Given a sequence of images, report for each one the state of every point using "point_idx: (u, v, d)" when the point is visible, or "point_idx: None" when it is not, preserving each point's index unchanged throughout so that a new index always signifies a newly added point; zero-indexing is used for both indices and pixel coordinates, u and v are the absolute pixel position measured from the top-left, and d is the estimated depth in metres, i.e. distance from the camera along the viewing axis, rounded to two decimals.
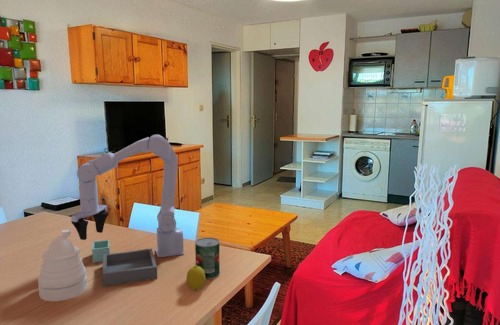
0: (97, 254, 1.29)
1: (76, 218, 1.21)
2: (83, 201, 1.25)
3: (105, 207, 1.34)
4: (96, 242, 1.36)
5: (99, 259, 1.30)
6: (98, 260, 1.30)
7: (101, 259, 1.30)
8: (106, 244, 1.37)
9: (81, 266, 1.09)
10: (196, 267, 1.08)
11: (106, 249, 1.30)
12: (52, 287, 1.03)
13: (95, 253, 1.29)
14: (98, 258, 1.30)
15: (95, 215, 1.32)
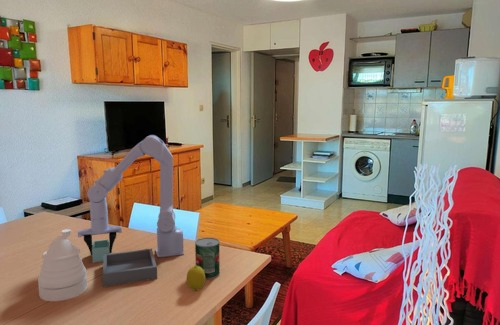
0: (97, 254, 1.29)
1: (78, 233, 1.29)
2: None
3: (118, 229, 1.34)
4: (96, 242, 1.36)
5: (99, 259, 1.30)
6: (98, 260, 1.30)
7: (101, 259, 1.30)
8: (106, 244, 1.37)
9: (81, 266, 1.09)
10: (196, 267, 1.08)
11: (106, 249, 1.30)
12: (52, 287, 1.03)
13: (95, 253, 1.29)
14: (98, 258, 1.30)
15: (109, 234, 1.35)
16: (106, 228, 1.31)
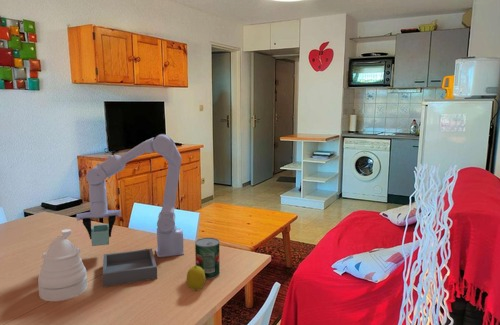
0: (96, 237, 1.29)
1: (77, 217, 1.28)
2: None
3: (117, 213, 1.33)
4: (95, 226, 1.35)
5: (98, 242, 1.29)
6: (97, 243, 1.29)
7: (100, 242, 1.29)
8: (105, 228, 1.36)
9: (81, 266, 1.09)
10: (196, 267, 1.08)
11: (105, 232, 1.29)
12: (52, 287, 1.03)
13: (94, 236, 1.28)
14: (97, 241, 1.29)
15: None
16: (105, 211, 1.31)
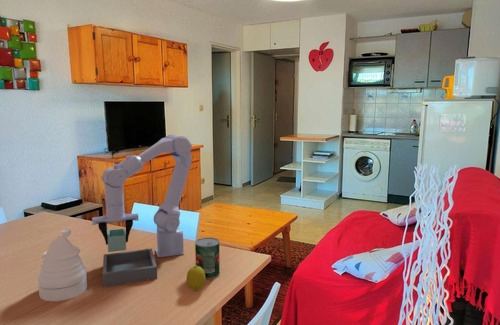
0: (113, 243, 1.22)
1: (93, 221, 1.21)
2: (106, 206, 1.23)
3: (135, 216, 1.25)
4: (111, 230, 1.28)
5: (115, 248, 1.22)
6: (114, 249, 1.22)
7: (117, 248, 1.22)
8: (122, 233, 1.29)
9: (81, 266, 1.09)
10: (196, 267, 1.08)
11: (122, 237, 1.22)
12: (52, 287, 1.03)
13: (111, 241, 1.21)
14: (114, 247, 1.22)
15: (125, 223, 1.27)
16: (122, 215, 1.23)
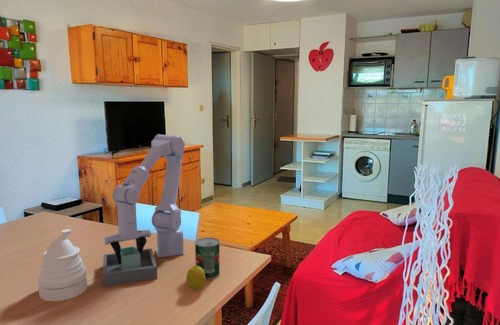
0: (128, 262, 1.18)
1: (106, 241, 1.16)
2: (118, 224, 1.18)
3: (148, 233, 1.23)
4: (121, 249, 1.24)
5: (130, 267, 1.18)
6: (129, 268, 1.18)
7: (132, 267, 1.19)
8: (131, 251, 1.26)
9: (81, 266, 1.09)
10: (196, 267, 1.08)
11: (137, 256, 1.19)
12: (52, 287, 1.03)
13: (126, 261, 1.17)
14: (129, 266, 1.18)
15: (136, 240, 1.23)
16: (136, 233, 1.20)
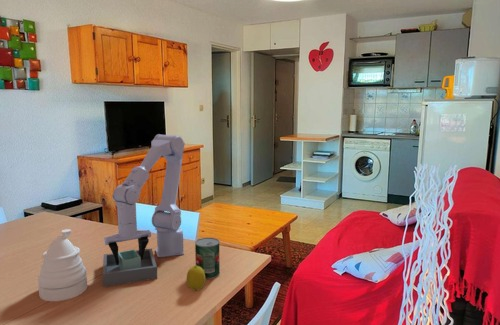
0: (128, 266, 1.18)
1: (106, 241, 1.16)
2: (118, 224, 1.18)
3: (148, 233, 1.23)
4: (121, 253, 1.24)
5: None
6: None
7: None
8: (131, 254, 1.26)
9: (81, 266, 1.09)
10: (196, 267, 1.08)
11: (137, 259, 1.19)
12: (52, 287, 1.03)
13: (126, 265, 1.18)
14: None
15: (138, 240, 1.24)
16: (136, 233, 1.20)
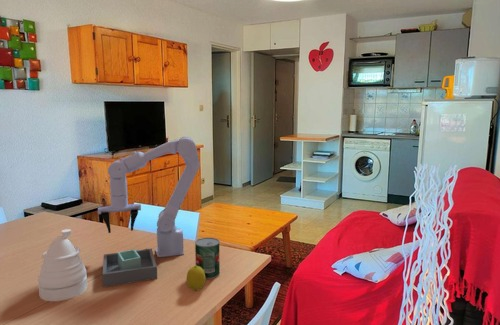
0: (128, 266, 1.18)
1: (98, 210, 1.29)
2: None
3: (138, 206, 1.34)
4: (121, 253, 1.24)
5: None
6: None
7: None
8: (131, 254, 1.26)
9: (81, 266, 1.09)
10: (196, 267, 1.08)
11: (137, 259, 1.19)
12: (52, 287, 1.03)
13: (126, 265, 1.18)
14: None
15: None
16: (126, 205, 1.32)
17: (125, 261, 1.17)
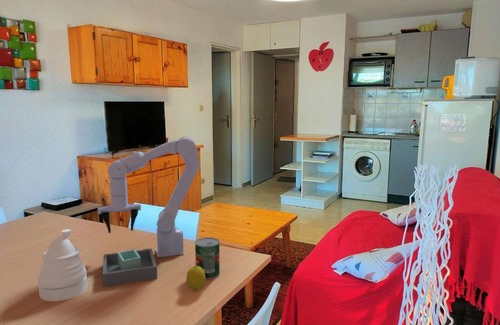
0: (128, 266, 1.18)
1: (98, 210, 1.29)
2: None
3: (138, 206, 1.34)
4: (121, 253, 1.24)
5: None
6: None
7: None
8: (131, 254, 1.26)
9: (81, 266, 1.09)
10: (196, 267, 1.08)
11: (137, 259, 1.19)
12: (52, 287, 1.03)
13: (126, 265, 1.18)
14: None
15: None
16: (126, 205, 1.32)
17: (125, 261, 1.17)
